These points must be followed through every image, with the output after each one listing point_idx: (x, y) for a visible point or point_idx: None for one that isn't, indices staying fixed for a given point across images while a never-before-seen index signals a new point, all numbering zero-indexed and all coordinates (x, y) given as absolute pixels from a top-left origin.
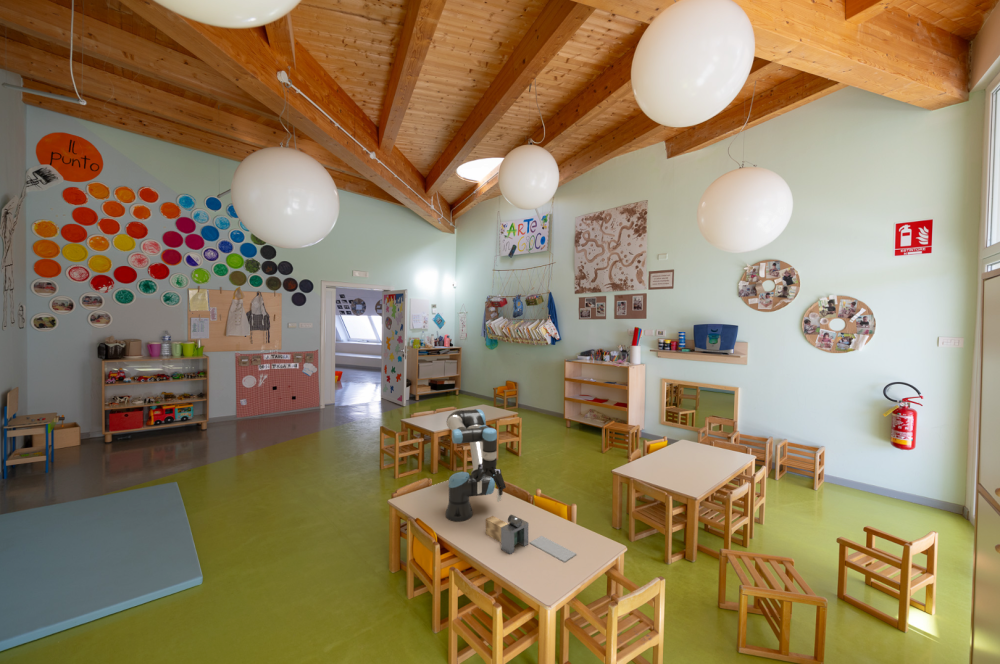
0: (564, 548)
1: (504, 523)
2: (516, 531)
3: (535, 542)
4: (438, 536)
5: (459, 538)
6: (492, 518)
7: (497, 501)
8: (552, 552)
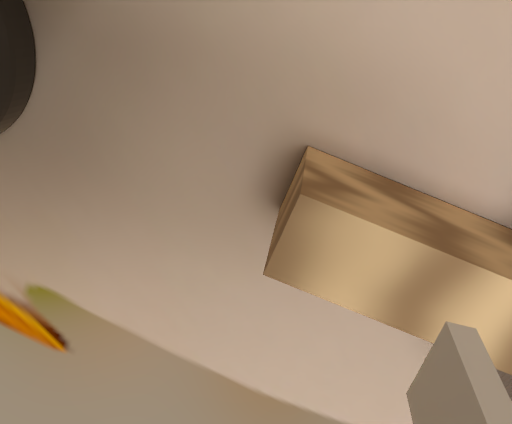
0: None
1: (484, 292)
2: None
3: None
4: (45, 322)
5: (155, 306)
6: (322, 246)
7: (414, 394)
8: None
